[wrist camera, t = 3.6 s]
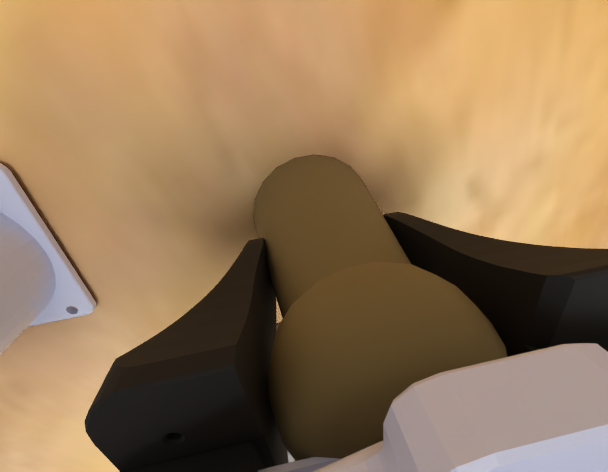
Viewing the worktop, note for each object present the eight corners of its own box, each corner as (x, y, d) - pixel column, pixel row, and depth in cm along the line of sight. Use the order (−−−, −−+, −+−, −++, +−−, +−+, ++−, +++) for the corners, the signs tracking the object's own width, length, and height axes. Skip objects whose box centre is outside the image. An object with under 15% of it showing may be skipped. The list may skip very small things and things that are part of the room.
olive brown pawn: (377, 242, 16) (556, 475, 7) (276, 277, 16) (306, 557, 7) (356, 136, 13) (623, 275, 4) (233, 179, 13) (172, 427, 4)
